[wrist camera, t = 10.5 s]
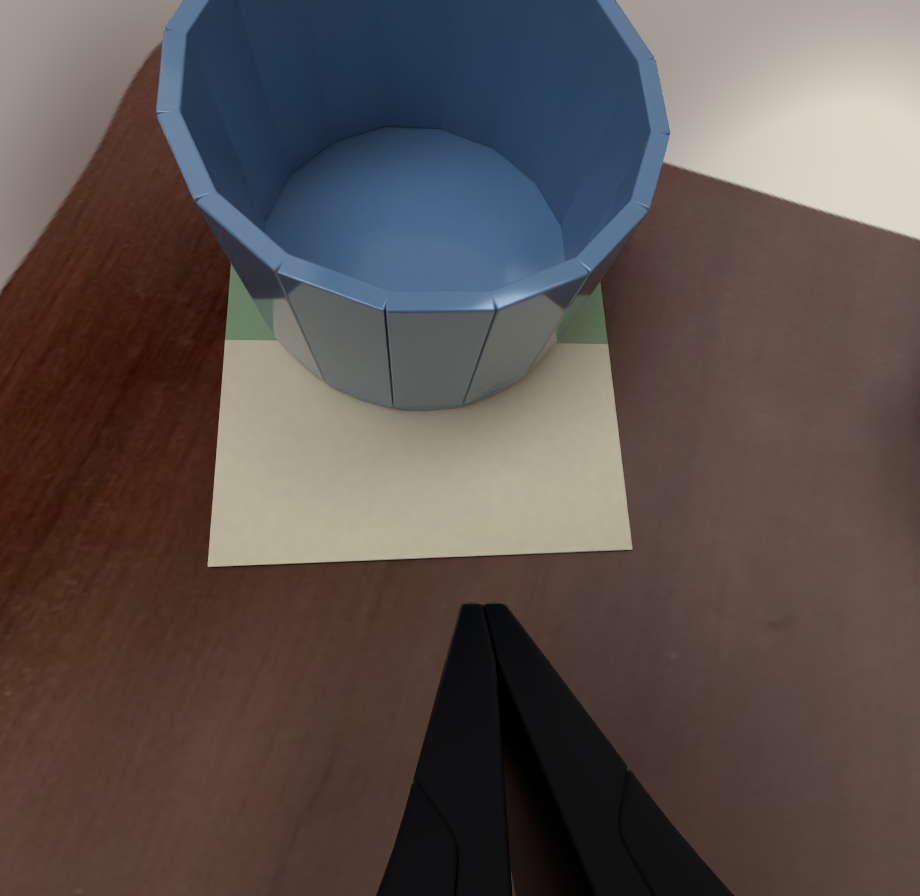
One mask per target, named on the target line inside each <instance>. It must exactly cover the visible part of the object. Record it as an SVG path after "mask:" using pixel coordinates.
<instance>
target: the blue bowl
mask: <svg viewBox="0 0 920 896" xmlns="http://www.w3.org/2000/svg"><path fill="white" fill-rule="evenodd" d="M156 113H157V118H158V120H159V123H160V125H161V127H162V129H163V132H164V134H165V136H166V139H167V141H168V143H169V145H170V148H171V150H172V152H173V155H174V157H175V159H176V161H177V164H178V166H179V168H180V170H181V173H182V175H183V177H184V180H185V182H186V184H187V186H188V189H189V191H190V193H191V196H192V198H193V200H194V202H195V203H196V205H197V207H198V208H199V210H200V212H201V213H202V215H203V217H204V219H205V220H206V222H207V224H208V225H209V227H210V229H211V230H212V232H213V234H214V235H215V237H216V239H217V241H218V242H219V244H220V246H221V247H222V249H223V251H224V252H225V254H226V256H227V257H228V259H229V261H230V263H231V264H232V266H233V268H234V269H235V271H236V273H237V274H238V276H239V278H240V279H241V281H242V283H243V285H244V286H245V288H246V290H247V291H248V293H249V295H250V296H251V298H252V300H253V301H254V303H255V305H256V307H257V308H258V310H259V312H260V313H261V315H262V317H263V318H264V320H265V322H266V323H267V325H268V327H269V329H270V330H271V332H272V334H273V335H274V336H275V338H276V339H277V340H278V341H279V342H281V343H282V344H283V345H284V346H285V347H286V349H287V350H288V351H289V352H290V353H291V354H292V355H293V356H294V357H295V359H296V360H297V361H298V362H299V363H300V364H301V365H302V366H303V367H305V368H306V369H307V370H308V371H310V372H311V373H312V374H314V375H315V376H316V377H317V378H319V379H320V380H321V381H323V382H325V383H326V384H328V385H330V386H332V387H333V388H335V389H337V390H338V391H340V392H342V393H345V394H347V395H349V396H352V397H354V398H356V399H359V400H361V401H364V402H368V403H371V404H375V405H378V406H382V407H387V408H394V409H400V410H411V411H433V410H444V409H452V408H456V407H461V406H465V405H470V404H473V403H476V402H479V401H481V400H484V399H487V398H490V397H492V396H494V395H496V394H498V393H500V392H501V391H503V390H505V389H507V388H509V387H511V386H512V385H513V384H515V383H516V382H518V381H519V380H521V379H522V378H523V377H525V376H526V375H527V374H528V373H529V372H530V371H531V370H532V369H533V368H534V367H536V366H537V365H538V364H539V363H540V362H541V360H542V359H543V358H544V357H545V355H546V354H547V353H548V352H549V350H550V349H551V348H552V347H553V346H554V345H555V344H556V342H557V341H558V340H559V339H560V338H561V337H562V336H563V335H564V333H565V332H566V330H567V329H568V327H569V326H570V325H571V323H572V322H573V320H574V319H575V317H576V316H577V314H578V313H579V312H580V310H581V309H582V307H583V306H584V304H585V303H586V301H587V300H588V298H589V297H590V296H591V294H592V293H593V291H594V290H595V288H596V287H597V285H598V284H599V283H600V281H601V280H602V278H603V277H604V275H605V274H606V272H607V271H608V270H609V268H610V267H611V265H612V264H613V262H614V261H615V259H616V258H617V256H618V255H619V254H620V252H621V251H622V249H623V248H624V246H625V245H626V243H627V242H628V241H629V239H630V238H631V236H632V235H633V233H634V232H635V230H636V229H637V227H638V226H639V225H640V223H641V222H642V220H643V219H644V217H645V216H646V214H647V212H648V211H649V209H650V206H651V202H652V199H653V195H654V192H655V188H656V184H657V181H658V177H659V173H660V170H661V166H662V163H663V159H664V155H665V152H666V148H667V144H668V141H669V135H670V130H669V125H668V120H667V115H666V110H665V105H664V100H663V95H662V90H661V85H660V80H659V75H658V70H657V65H656V61H655V60H654V56H653V55H652V53H651V52H650V50H649V49H648V48H647V46H646V45H645V43H644V42H643V40H642V39H641V37H640V36H639V34H638V33H637V31H636V30H635V28H634V27H633V25H632V24H631V23H630V21H629V19H628V18H627V16H626V15H625V14H624V12H623V10H622V9H621V7H620V6H619V5H618V3H617V2H616V0H183V2H182V3H181V4H180V6H179V8H178V9H177V10H176V12H175V13H174V15H173V16H172V18H171V19H170V20H169V22H168V23H167V25H166V26H165V31H164V34H163V44H162V55H161V66H160V76H159V87H158V98H157V108H156Z"/></svg>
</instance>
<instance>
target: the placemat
mask: <svg viewBox="0 0 920 896" xmlns="http://www.w3.org/2000/svg"><path fill="white" fill-rule="evenodd" d="M611 550H632V541H631V533H630V525H629V516H628V508H627V500H626V491H625V483H624V475H623V466H622V458H621V450H620V441H619V433H618V424H617V416H616V408H615V399H614V391H613V383H612V374H611V366H610V358H609V349H608V341H607V333H606V324H605V316H604V308H603V299H602V291H601V283H599V284H598V285H597V287H596V288H595V290H594V291H593V293H592V294H591V296H590V297H589V298H588V300H587V301H586V303H585V304H584V306H583V307H582V309H581V310H580V312H579V313H578V314H577V316H576V317H575V319H574V320H573V322H572V323H571V325H570V326H569V327H568V329H567V330H566V332H565V333H564V335H563V336H562V337H561V338H560V339H559V340H558V341H557V342H556V344H555V345H554V346H553V347H552V348H551V349H550V350H549V352H548V353H547V354H546V355H545V357H544V358H543V359H542V360H541V362H540V363H539V364H538V365H537V366H536V367H534V368H533V369H532V370H531V371H530V372H529V373H528V374H527V375H526V376H525V377H523V378H522V379H521V380H519V381H518V382H516V383H515V384H513V385H512V386H511V387H509V388H507V389H505V390H503V391H501V392H500V393H498V394H496V395H494V396H492V397H490V398H487V399H484V400H481V401H479V402H476V403H473V404H470V405H465V406H461V407H456V408H452V409H444V410H433V411H411V410H400V409H394V408H387V407H382V406H378V405H375V404H371V403H368V402H364V401H361V400H359V399H356V398H354V397H352V396H349V395H347V394H345V393H342V392H340V391H338V390H337V389H335V388H333V387H332V386H330V385H328V384H326V383H325V382H323V381H321V380H320V379H319V378H317V377H316V376H315V375H314V374H312V373H311V372H310V371H308V370H307V369H306V368H305V367H303V366H302V365H301V364H300V363H299V362H298V361H297V360H296V359H295V357H294V356H293V355H292V354H291V353H290V352H289V351H288V350H287V349H286V347H285V346H284V345H283V344H282V343H281V342H279V341H278V340H277V339H276V338H275V336H274V335H273V334H272V332H271V330H270V329H269V327H268V325H267V323H266V322H265V320H264V318H263V317H262V315H261V313H260V312H259V310H258V308H257V307H256V305H255V303H254V301H253V300H252V298H251V296H250V295H249V293H248V291H247V290H246V288H245V286H244V285H243V283H242V281H241V279H240V278H239V276H238V274H237V273H236V271H235V269H234V268H233V266H232V264H231V272H230V285H229V298H228V311H227V324H226V337H225V350H224V363H223V376H222V388H221V401H220V414H219V427H218V440H217V453H216V466H215V479H214V492H213V505H212V518H211V531H210V544H209V556H208V567H220V566H244V565H269V564H293V563H318V562H342V561H367V560H391V559H415V558H440V557H464V556H489V555H513V554H538V553H562V552H587V551H611Z"/></svg>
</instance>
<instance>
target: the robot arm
mask: <svg viewBox="0 0 920 896" xmlns="http://www.w3.org/2000/svg"><path fill="white" fill-rule="evenodd" d="M510 866H511V869H510ZM511 872H512V877H513V882H514V887H515V893H516V896H734V895H733V894H732V893H731V892H730V891H729V889H728V888H727V887H726V886H725V885H724V884H723V883H722V882H721V880H720V879H719V878H718V877H717V876H716V875H715V874H714V872H713V871H712V870H711V869H710V868H709V867H708V866H707V865H706V863H705V862H704V861H703V860H702V859H701V858H700V856H699V855H698V854H697V853H696V852H695V851H694V849H693V848H692V847H691V846H690V845H689V844H688V842H687V841H686V840H685V839H684V838H683V837H682V835H681V834H680V833H679V832H678V831H677V830H676V828H675V827H674V826H673V825H672V823H671V822H670V821H669V820H668V818H667V817H666V816H665V815H664V813H663V812H662V811H661V809H660V808H659V807H658V806H657V804H656V803H655V802H654V801H653V799H652V798H651V797H650V795H649V794H648V793H647V792H646V790H645V789H644V788H643V786H642V785H641V783H640V782H639V781H638V779H637V778H636V777H635V775H634V774H633V773H632V771H630V770H628V771H627V765H626V764H625V762H624V761H623V760H622V758H621V757H620V756H619V754H618V753H617V752H616V750H615V749H614V748H613V746H612V745H611V744H610V742H609V741H608V740H607V738H606V737H605V736H604V734H603V733H602V732H601V730H600V729H599V728H598V726H597V725H596V724H595V722H594V721H593V720H592V718H591V717H590V716H589V714H588V713H587V712H586V710H585V709H584V708H583V706H582V705H581V704H580V702H579V701H578V700H577V698H576V697H575V696H574V694H573V693H572V692H571V690H570V689H569V688H568V686H567V685H566V684H565V682H564V681H563V680H562V678H561V677H560V676H559V674H558V673H557V672H556V670H555V669H554V668H553V666H552V665H551V664H550V662H549V661H548V660H547V658H546V657H545V656H544V654H543V653H542V652H541V650H540V649H539V648H538V646H537V645H536V644H535V642H534V641H533V640H532V638H531V637H530V636H529V634H528V633H527V632H526V630H525V629H524V628H523V626H522V625H521V624H520V622H519V621H518V620H517V618H516V617H515V616H514V614H513V613H512V612H511V610H510V609H509V608H508V606H507V605H506V604H505V603H503V602H486V603H484V604H483V605H482V604H481V603H479V602H464V603H462V604H461V605H460V609H459V612H458V616H457V620H456V623H455V627H454V631H453V635H452V638H451V642H450V646H449V649H448V653H447V657H446V661H445V664H444V668H443V672H442V675H441V679H440V683H439V686H438V690H437V694H436V698H435V701H434V705H433V709H432V712H431V716H430V720H429V724H428V727H427V731H426V735H425V738H424V742H423V746H422V750H421V753H420V757H419V761H418V764H417V768H416V772H415V776H414V781H413V784H412V786H411V789H410V793H409V797H408V801H407V804H406V808H405V812H404V815H403V818H402V821H401V825H400V828H399V831H398V835H397V838H396V841H395V845H394V848H393V851H392V854H391V856H390V859H389V862H388V865H387V867H386V870H385V873H384V876H383V878H382V881H381V884H380V887H379V889H378V892H377V895H376V896H512V884H511Z"/></svg>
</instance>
